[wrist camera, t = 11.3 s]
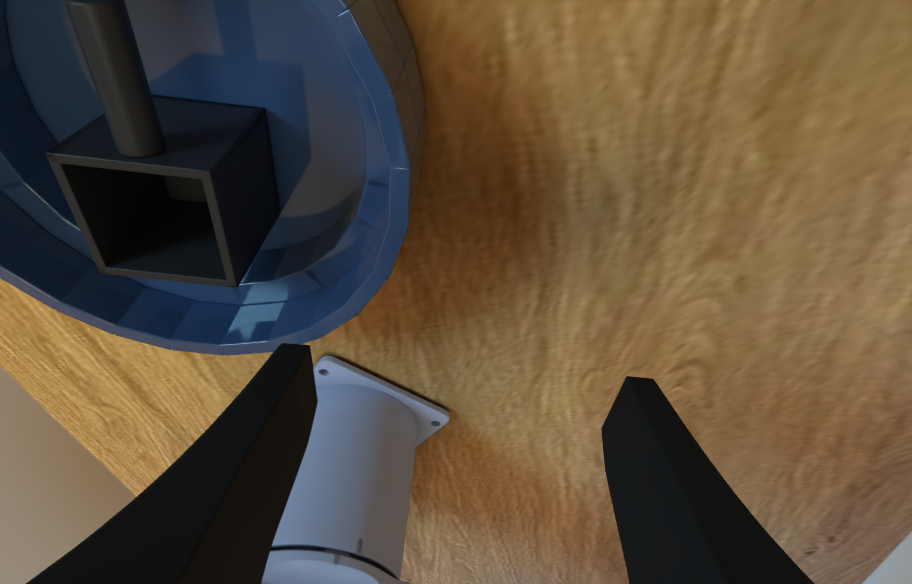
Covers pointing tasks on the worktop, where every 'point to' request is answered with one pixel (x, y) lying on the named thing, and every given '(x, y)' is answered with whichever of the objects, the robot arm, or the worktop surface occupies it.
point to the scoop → (163, 168)
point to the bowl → (293, 149)
